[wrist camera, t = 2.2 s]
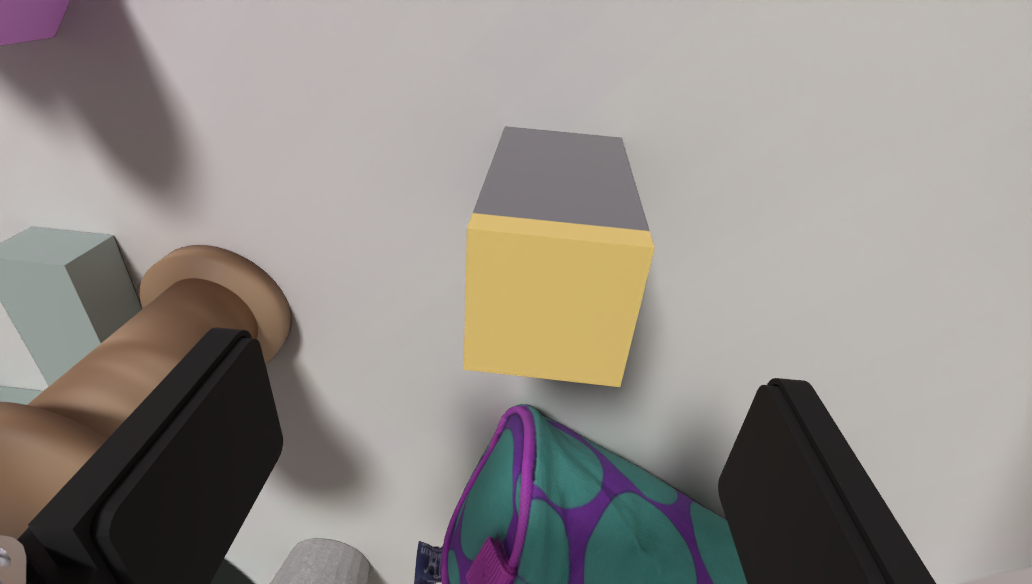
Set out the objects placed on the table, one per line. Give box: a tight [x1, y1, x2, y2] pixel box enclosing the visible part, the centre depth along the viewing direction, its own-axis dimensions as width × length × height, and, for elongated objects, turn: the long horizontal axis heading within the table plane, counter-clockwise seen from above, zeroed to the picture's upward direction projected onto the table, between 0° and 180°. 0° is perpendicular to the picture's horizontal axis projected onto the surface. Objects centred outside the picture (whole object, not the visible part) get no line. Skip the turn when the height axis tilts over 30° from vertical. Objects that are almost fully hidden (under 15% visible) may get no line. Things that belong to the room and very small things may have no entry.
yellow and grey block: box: [464, 127, 655, 387], centre depth 15 cm, size 4×4×8 cm
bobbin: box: [0, 245, 291, 540], centre depth 19 cm, size 6×6×10 cm
